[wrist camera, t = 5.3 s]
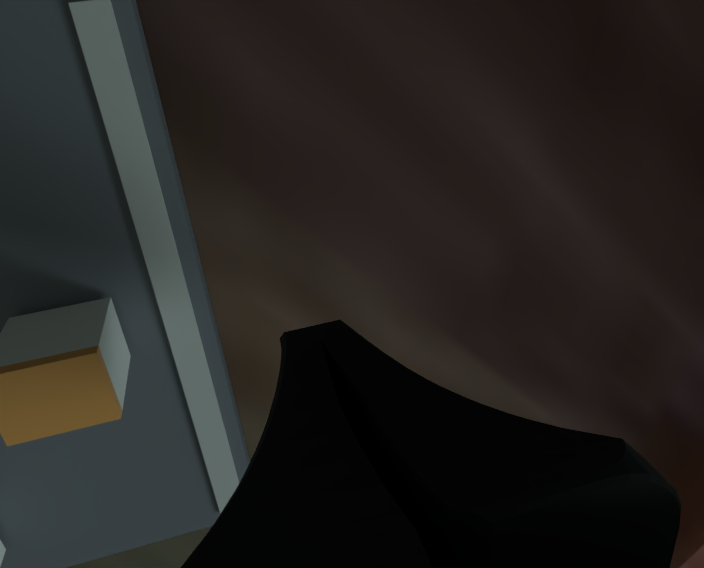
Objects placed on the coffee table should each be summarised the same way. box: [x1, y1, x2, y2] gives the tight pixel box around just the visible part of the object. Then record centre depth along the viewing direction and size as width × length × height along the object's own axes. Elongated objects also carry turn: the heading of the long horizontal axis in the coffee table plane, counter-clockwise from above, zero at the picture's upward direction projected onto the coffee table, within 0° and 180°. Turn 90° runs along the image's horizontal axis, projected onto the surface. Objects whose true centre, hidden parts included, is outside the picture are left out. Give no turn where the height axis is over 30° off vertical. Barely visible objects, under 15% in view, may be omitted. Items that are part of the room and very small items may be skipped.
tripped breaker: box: [0, 297, 131, 446], centre depth 13 cm, size 2×2×3 cm
